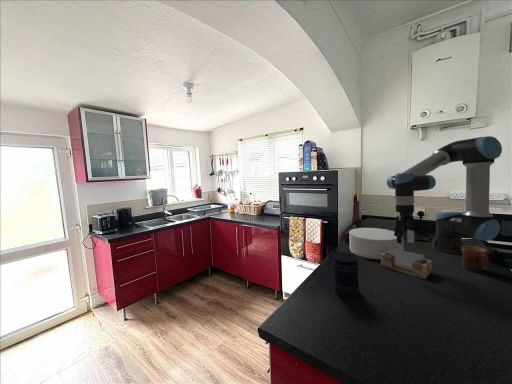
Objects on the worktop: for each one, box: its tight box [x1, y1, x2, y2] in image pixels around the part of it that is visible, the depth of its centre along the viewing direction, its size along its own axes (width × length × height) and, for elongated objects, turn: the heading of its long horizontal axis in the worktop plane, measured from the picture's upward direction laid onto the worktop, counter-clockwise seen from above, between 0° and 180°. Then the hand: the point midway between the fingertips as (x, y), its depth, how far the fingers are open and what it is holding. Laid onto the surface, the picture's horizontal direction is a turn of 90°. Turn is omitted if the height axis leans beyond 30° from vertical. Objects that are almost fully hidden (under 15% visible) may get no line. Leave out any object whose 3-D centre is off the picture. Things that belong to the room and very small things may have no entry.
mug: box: [461, 245, 489, 273], centre depth 100 cm, size 12×9×10 cm
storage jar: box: [332, 252, 360, 298], centre depth 88 cm, size 10×10×15 cm
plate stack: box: [348, 227, 399, 260], centre depth 132 cm, size 28×28×12 cm
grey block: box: [388, 248, 425, 272], centre depth 106 cm, size 4×14×8 cm, turn 37°
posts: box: [380, 251, 433, 280], centre depth 106 cm, size 10×19×6 cm, turn 36°
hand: (405, 245), depth 105 cm, fingers open, 13 cm apart
